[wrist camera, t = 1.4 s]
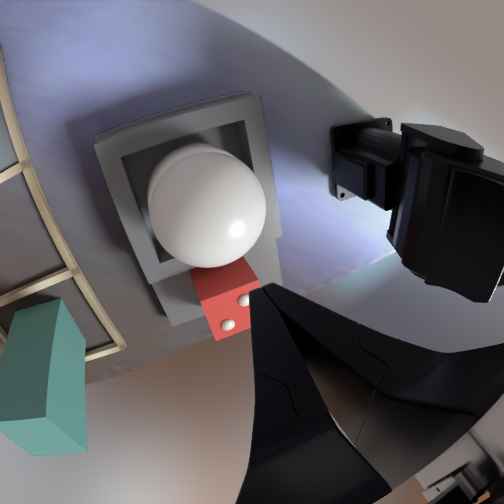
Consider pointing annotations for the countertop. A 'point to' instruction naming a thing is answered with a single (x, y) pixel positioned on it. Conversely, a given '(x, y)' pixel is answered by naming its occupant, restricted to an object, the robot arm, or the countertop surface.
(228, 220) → the dome
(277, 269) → the dome base
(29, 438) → the tall teal block
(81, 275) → the track
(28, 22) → the countertop surface
